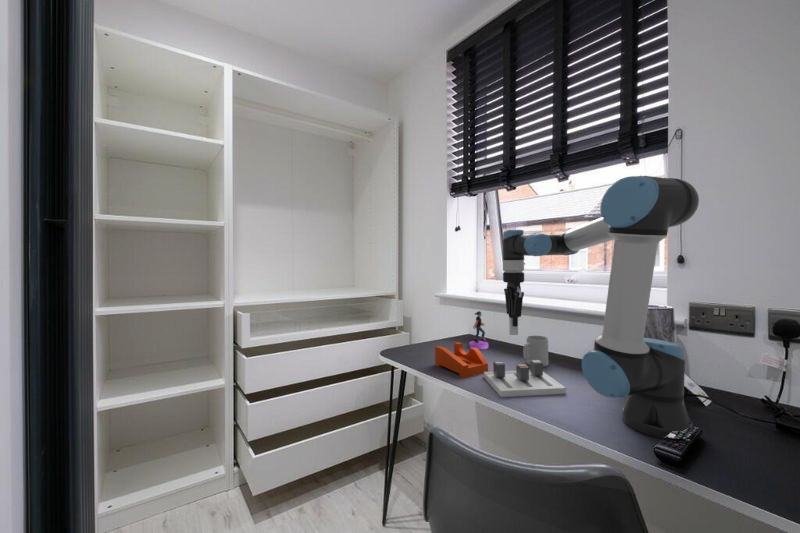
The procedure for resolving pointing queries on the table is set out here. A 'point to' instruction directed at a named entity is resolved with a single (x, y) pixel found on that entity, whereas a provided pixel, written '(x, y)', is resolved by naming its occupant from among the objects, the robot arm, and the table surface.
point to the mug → (536, 349)
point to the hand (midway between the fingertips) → (513, 334)
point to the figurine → (476, 343)
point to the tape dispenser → (461, 360)
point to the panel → (524, 385)
